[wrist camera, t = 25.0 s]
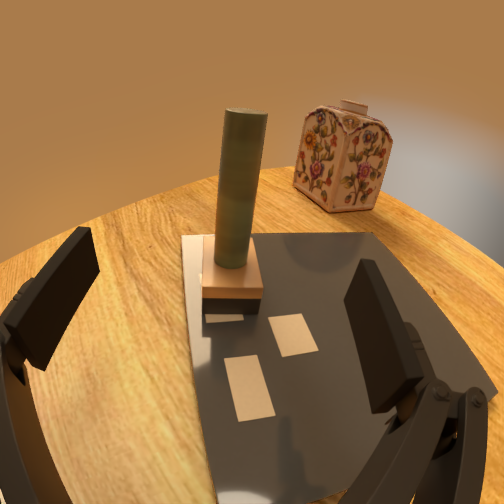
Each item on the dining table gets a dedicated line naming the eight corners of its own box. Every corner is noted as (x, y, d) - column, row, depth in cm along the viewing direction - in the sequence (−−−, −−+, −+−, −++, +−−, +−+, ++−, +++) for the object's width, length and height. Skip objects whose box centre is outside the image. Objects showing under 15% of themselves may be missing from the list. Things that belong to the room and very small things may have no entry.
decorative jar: (327, 214, 43) (354, 101, 33) (289, 185, 52) (306, 90, 42) (375, 210, 48) (402, 116, 38) (337, 184, 57) (355, 101, 46)
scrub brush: (202, 261, 28) (212, 103, 19) (248, 262, 29) (271, 108, 20) (201, 314, 22) (210, 114, 14) (258, 314, 23) (294, 123, 15)
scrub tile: (181, 243, 32) (180, 234, 31) (369, 239, 39) (372, 231, 38) (221, 521, 10) (222, 522, 10) (491, 398, 17) (499, 391, 16)
